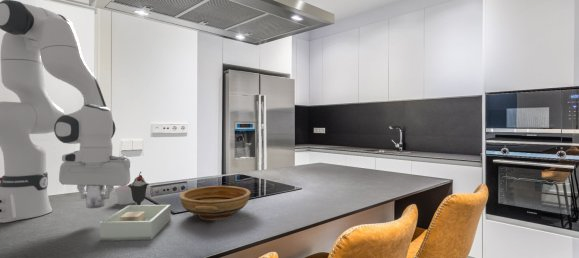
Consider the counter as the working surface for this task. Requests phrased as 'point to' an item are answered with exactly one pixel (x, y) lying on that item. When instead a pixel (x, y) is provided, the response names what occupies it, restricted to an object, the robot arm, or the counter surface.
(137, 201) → the sundae
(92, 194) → the aluminium cylinder
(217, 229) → the counter surface
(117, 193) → the candle
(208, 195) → the wooden bowl
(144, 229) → the tote
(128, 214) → the maple cube
